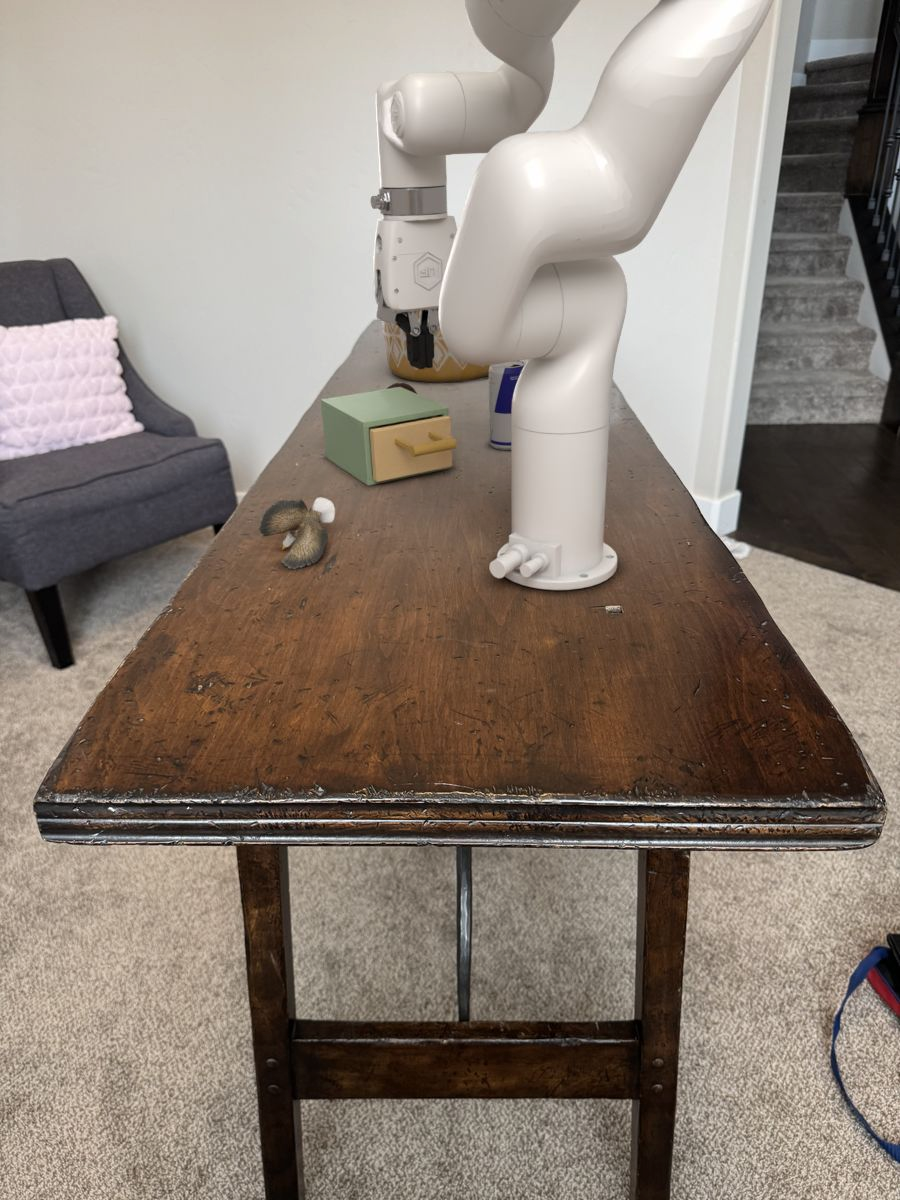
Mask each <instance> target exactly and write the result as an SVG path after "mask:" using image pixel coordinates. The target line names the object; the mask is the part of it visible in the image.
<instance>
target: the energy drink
mask: <svg viewBox="0 0 900 1200" xmlns="http://www.w3.org/2000/svg"><path fill="white" fill-rule="evenodd" d="M525 363H526V362H524V361H523V360H520V361H513V362H507V363H501V364H494V365H490V368H489V375H488V411H489V412H488V415H489V416H488V417H489V421H488V425H489V445H490V447H492V448H494V449H496V450H502V451H511V422H512V421H511V409H512V399H513V393H514V390H515V386H516V383H517V381H518V378H519V376H520V373H521V371H522V369H523V367H524V365H525Z"/></svg>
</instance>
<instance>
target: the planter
mask: <svg viewBox="0 0 900 1200" xmlns="http://www.w3.org/2000/svg"><path fill="white" fill-rule="evenodd" d="M372 262H373V264H374V257H373V258H372ZM392 311H393V312H397V311H394V310H392ZM417 313H418V319H419V317H420V310H419V311H417ZM381 325H382V326H381V327H382V331H383V338H384V346H385V352H386V360H387V365H388V367H389V369H390V371H391V372H392V373H393V374H394V375H396V376H397V377H399V378H402V379H405V380H409V381H415V382H421V383H422V382H423V383H457V382H464V381H472V380H477V379H481V378H484V377H487V376H488V377H489V368H490V365H472V364H469V363H465V362H463V361H461V360H460V359H458V358H457V357H455V356H454V355H453V354H452V353H451V352H450V350H449V349H448V348H447V346H446V344H445V342H444V340H443V337H442V334H441V330H440V325H439V326H438V330H437V332H436V333H435V334H434V359H433V367H432V368H426V367H425V369H418V368H415V367H413V366H411V365H410V361H408V358H407V345H406V333H404V332H403V331H402V329H401V328H400V327H399V326H398V325H397V324H395V323H390V322H384V321H381Z"/></svg>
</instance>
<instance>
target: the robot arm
mask: <svg viewBox="0 0 900 1200" xmlns="http://www.w3.org/2000/svg"><path fill="white" fill-rule="evenodd" d="M580 2H581V0H464V7H465V9H464V10H465V13H466V17H467V21H468V24H469V26H470V29H471V30H472V32H473V34H474V35H475V37H476V38H477V40H478V41H479V42H480V43H481V45H482V46H483V47H484V48H485V50H487V51H488V52H489V53H490V54H491V55H493V56H494V57H495V58H497V59H499V60H500V61H501V62H503V64H502V65H500V67H499V68H498V69H497V70H495V71H419V72H418V71H417V72H412V73H409V74H406V75H404V76H403V77H402V78H399V79H390V80H385V81H383V82H382V83H380V84H379V85H378V87H377V88H376V91H375V114H376V117H375V118H376V132H377V151H378V166H379V167H378V169H379V184H380V185H379V187H380V188H378V194H376V195H372V196H371V197H370V206H371V208H372V209H373V210H379V212H380V214H381V215H382V216H381V218H378V219H377V220H376V221H377V222H376V228H375V235H374V246H373V247H374V248H373V258H374V263H373V292H374V300H375V303H376V305H377V310H376V319H377V320H378V321H381V322H382V321H384V322H390V323H395V324H397V325H398V326H399V327H400V328H401V329H402V331H403V332H404V333H406V345H407V358H408V361H410V365H411V366H413V367H415V368H418V369H425V367H426V368H432V367H433V359H434V334H435V333H436V332H437V330H438V326H439V325H440V330H441V334H442V337H443V340H444V342H445V344H446V346H447V348H448V349H449V350H450V352H451V353H452V354H453V355H454V356H455V357H457V358H458V359H460V360H461V361H463V362H465V363H469V364H472V365H494V364H501V363H507V362H513V361H525V362H524V363H525V365H524V367H523V369H522V371H521V373H520V376H519V378H518V381H517V383H516V386H515V390H514V393H513V399H512V409H511V421H512V422H511V450H510V451H511V454H510V455H511V459H510V460H511V462H510V463H511V534H509V535H508V542H507V543H505V544H504V545H503V546H502V547H500V548H499V549H498V552H496V558H495V559H493V560H491V561H490V563H489V564H488V565H489V566H488V567H489V571H490V573H491V575H492V576H493V577H494V578H497V579H503V578H506V579H507V580H509V581H511V582H513V583H516V584H518V585H520V586H524V587H528V588H532V589H536V590H537V589H538V590H543V591H545V590H546V591H572V590H580V589H586V588H591V587H593V586H596V585H599V584H601V583H603V582H605V581H607V580H608V579H610V578H611V577H612V576H614V574H615V573H616V572H617V568H618V554H617V553H616V551H615V550H614V549H613V548H612V547H611V546H609V544H608V543H605V542H604V539H605V538H604V537H605V518H606V517H605V515H606V497H607V476H608V460H609V459H608V458H609V435H610V422H611V406H612V405H611V403H612V388H613V379H614V369H615V363H616V358H617V352H618V347H619V343H620V339H621V335H622V331H623V327H624V323H625V318H626V313H627V306H628V284H627V279H626V276H625V273H624V270H623V269H622V266H621V265H620V263H619V262H618V260H617V259H616V258H615V257H614V256H618V255H622V254H625V253H627V252H630V251H631V250H634V249H635V248H636V247H638V246H639V245H641V243H642V242H643V241H644V239H645V238H646V237H647V235H648V234H649V233H650V231H651V229H652V228H653V226H654V224H655V222H656V220H657V219H658V217H659V215H660V213H661V211H662V209H663V207H664V205H665V203H666V201H667V199H668V197H669V195H670V193H671V192H672V190H673V187H674V185H675V184H676V182H677V179H678V178H679V175H680V173H681V171H682V170H683V168H684V166H685V164H686V162H687V160H688V158H689V156H690V154H691V153H692V151H693V150H692V149H693V148H694V146H695V144H696V143H697V140H698V138H699V135H700V133H701V132H702V129H703V127H704V126H705V125H704V124H705V122H706V121H707V119H708V117H709V115H710V113H711V111H712V109H713V107H714V106H715V103H716V102H717V101H718V99H719V98H720V95H722V92H723V90H724V89H725V87H726V85H727V84H728V82H729V81H730V79H731V78H732V76H733V74H734V73H735V71H736V70H737V68H738V67H739V65H740V64H741V63H742V61H743V59H744V57H745V56H746V54H747V53H748V51H749V49H750V48H751V46H752V45H753V43H754V41H755V40H756V38H757V36H758V34H759V32H760V31H761V28H762V27H763V25H764V23H765V21H766V18H767V17H768V15H769V12H770V11H771V8H772V6H773V3H774V0H659V1H658V3H657V4H656V5H655V6H654V8H652V9H651V10H650V11H648V13H647V14H646V15H645V16H644V17H643V18H641V20H640V21H638V23H636V24H635V26H633V28H631V30H630V31H629V32H628V33H627V34H626V36H625V37H624V38H623V39H622V40H621V42H620V44H619V45H618V46H617V47H616V48H615V50H614V52H613V53H612V54H611V56H610V58H609V59H608V61H607V63H606V65H605V66H604V68H603V69H602V73H601V75H600V77H599V80H598V82H597V86H596V89H595V91H594V94H593V96H592V99H591V101H590V103H589V106H588V107H587V110H586V111H585V113H584V116H583V117H582V118H581V120H580V121H579V122H578V123H577V124H575V125H574V126H572V127H570V128H568V129H565V130H545V131H542V130H541V131H529V129H530V128H531V127H532V125H533V124H534V123H535V122H536V120H537V119H538V118H539V117H540V115H542V113H543V112H544V109H545V108H546V106H547V103H548V102H549V98H550V94H551V91H552V87H553V82H554V75H555V67H556V66H555V65H556V63H555V62H556V61H555V60H556V59H555V49H554V42H553V39H554V37H555V35H556V34H557V33H558V32H559V31H560V29H561V28H562V26H563V25H564V24H565V22H566V21H567V19H568V18H569V16H570V15H571V14H572V13H573V11H574V10H575V9H576V7H577V6H578V5H579V3H580ZM469 154H470V155H471V154H485V155H484V157H483V158H482V160H481V161H480V162H479V165H478V166H477V168H476V170H475V173H474V175H473V178H472V180H471V183H470V186H469V189H468V192H467V196H466V199H465V202H464V205H463V209H462V212H461V216H460V218H459V222H458V225H457V222H456V218H455V215H449V214H448V179H447V178H448V177H447V176H448V175H447V156H452V155H469ZM392 310H394V311H397V312H393V311H392ZM419 310H420V317H419V319H418V313H417V311H419Z"/></svg>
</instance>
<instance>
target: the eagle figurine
mask: <svg viewBox="0 0 900 1200" xmlns="http://www.w3.org/2000/svg"><path fill="white" fill-rule="evenodd" d="M335 516H336V507H335V504H334V502H332V501H331V500H330V499H328V498H326V497H321V496H320V497H316V498H315V500H314V501H313V504H312V506H311V507H309V508H308V506H307V504H306V503H305V501H303V499H302V498H299V499H296V500H294V499H292V500H286V499H285V498H284V497H280V498H279V500H276V502H274V503H273V504H271V505H270V507H268V508H267V509H266V510H265V511H264V513H263V514H262V516H261V519H260V521H259V526H258V528H257V530H258V531H259V534H262V537H269V536H274V535H279V534H280V535H281V534H282V535H283V534H284V533H286V532H288V533H287V535H286V536H285V538H284V539H283V541H282V548H281V550H286V548H289V547H290V546H291V548H290V549H289V551H288V552H287V553H286V554H285V556H283V558H282V560H281V564H283V566H284V567H287V568H288V569H293V570H296V569H299V568H304V567H306V566H311V565H312V564H315V563H316V562H318V561H319V560H320V558H321V557H322V555H323V554H324V550H325V548H326V547H325V546H326V545H327V541H328V540H329V533H328V531H327V530H326V529H325V528H324V526H322V524H331V523H333V522H334V521H335Z"/></svg>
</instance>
